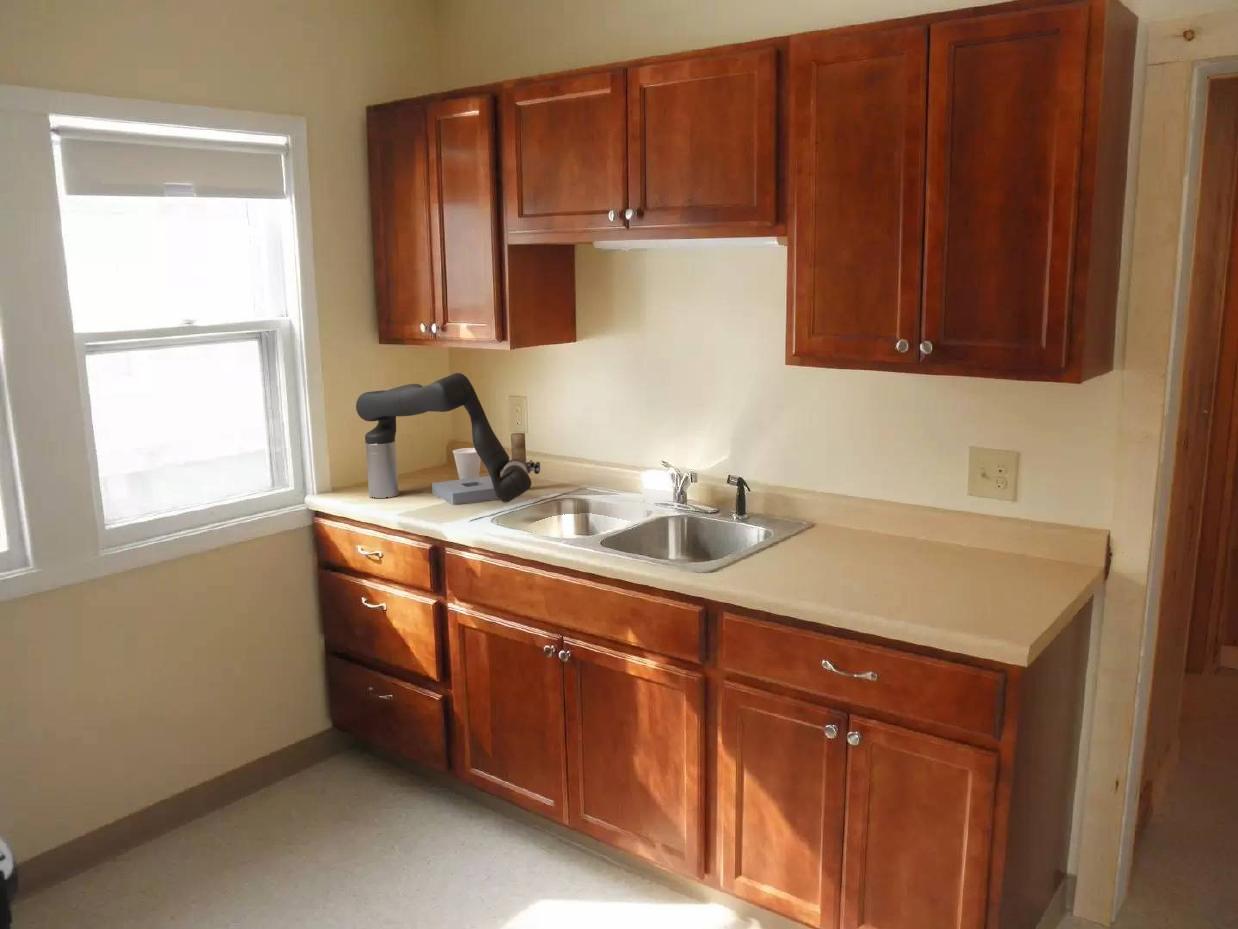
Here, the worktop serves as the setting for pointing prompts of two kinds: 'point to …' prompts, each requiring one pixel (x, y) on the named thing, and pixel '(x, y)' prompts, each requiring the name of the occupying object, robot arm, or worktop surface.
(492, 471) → the robot arm
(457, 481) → the socket block
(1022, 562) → the worktop surface
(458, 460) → the cup
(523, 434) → the dowel
